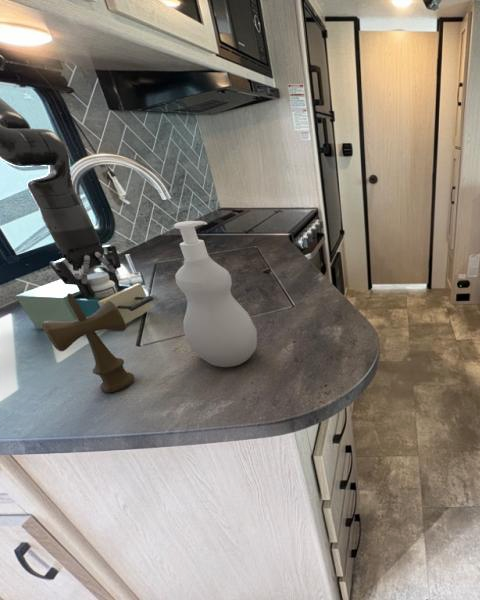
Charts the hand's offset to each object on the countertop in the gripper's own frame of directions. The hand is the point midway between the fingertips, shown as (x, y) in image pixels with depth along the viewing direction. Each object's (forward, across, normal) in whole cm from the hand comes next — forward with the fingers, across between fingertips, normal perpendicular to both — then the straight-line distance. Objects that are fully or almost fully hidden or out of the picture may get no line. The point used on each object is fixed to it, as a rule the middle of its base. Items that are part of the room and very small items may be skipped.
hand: (103, 291), depth 80 cm
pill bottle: (+6, 0, 0) cm, 6 cm away
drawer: (+8, 0, -2) cm, 8 cm away
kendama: (+9, -23, -24) cm, 34 cm away
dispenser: (+9, 0, +11) cm, 14 cm away
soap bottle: (+9, -12, -40) cm, 43 cm away
